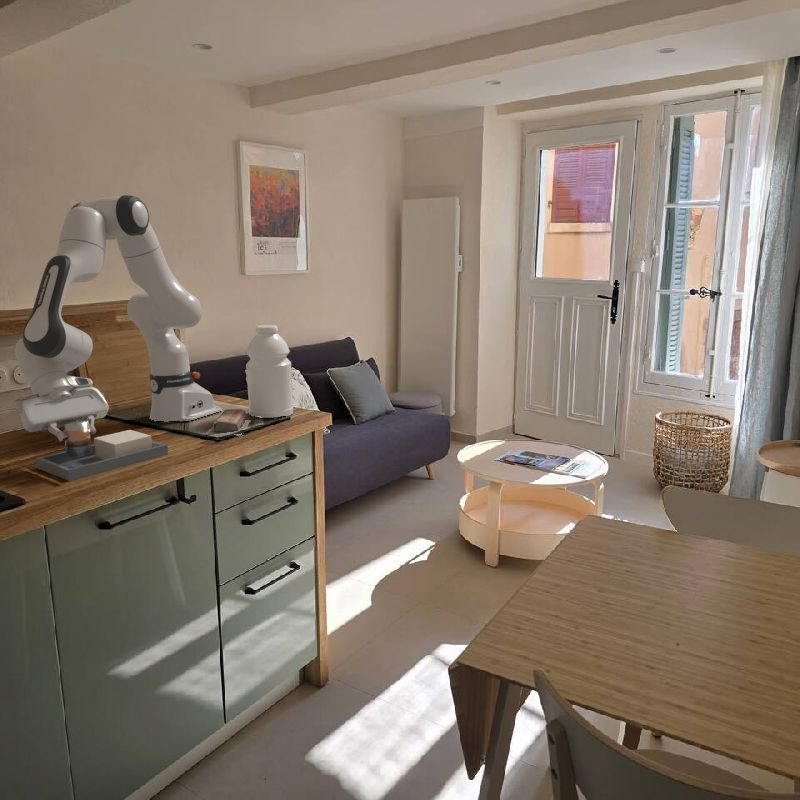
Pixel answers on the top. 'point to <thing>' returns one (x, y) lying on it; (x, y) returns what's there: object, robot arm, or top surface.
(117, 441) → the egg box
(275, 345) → the bottle
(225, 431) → the packaged product
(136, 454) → the tray
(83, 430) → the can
